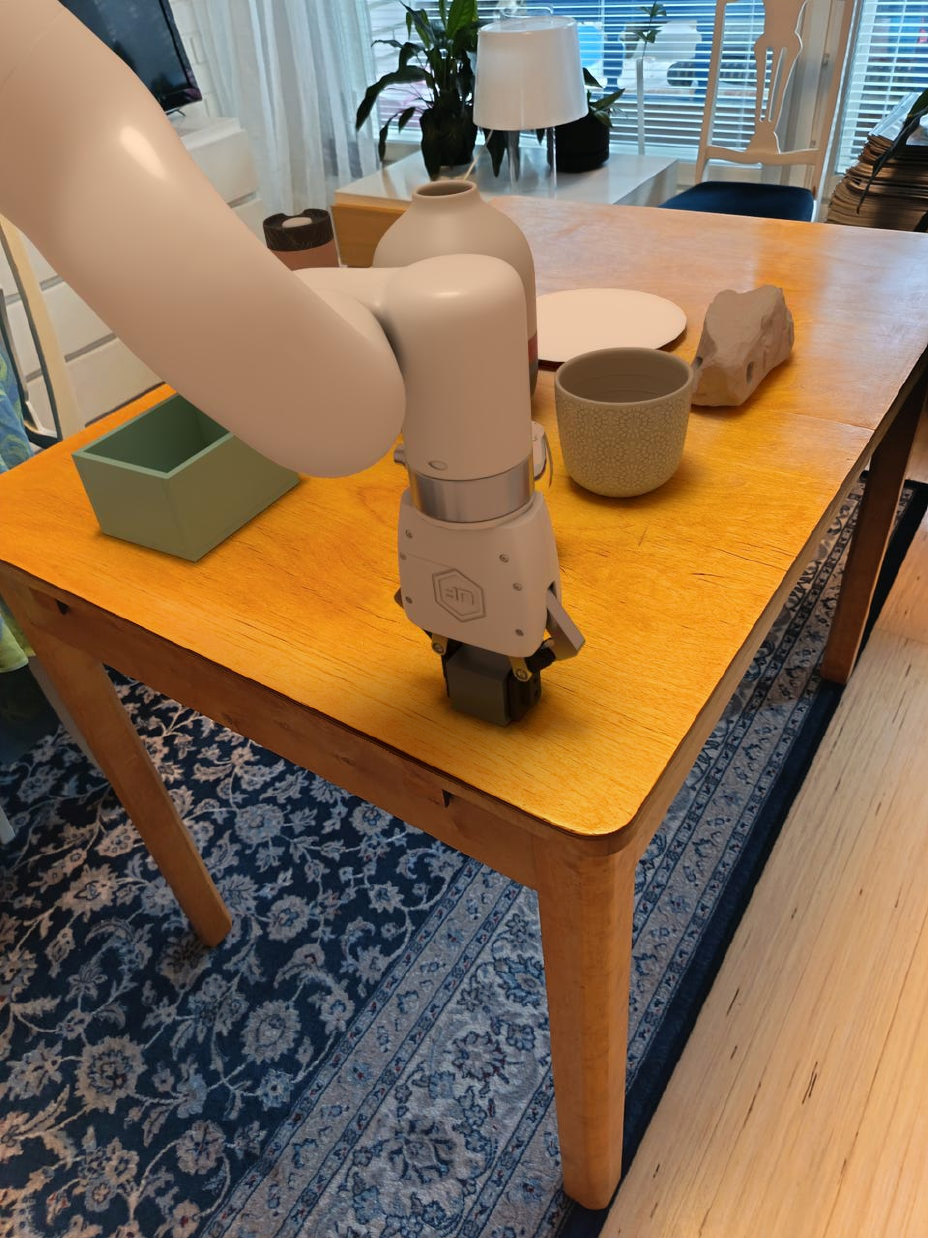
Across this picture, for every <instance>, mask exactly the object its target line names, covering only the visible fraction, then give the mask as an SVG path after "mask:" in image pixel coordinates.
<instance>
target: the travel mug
mask: <svg viewBox="0 0 928 1238" xmlns="http://www.w3.org/2000/svg"><path fill="white" fill-rule="evenodd" d="M331 217H332V216H331V214H330V212H329V211H328V210H326V209H323V208H315V207H314V208H313V207H310V208H305V209H304V210H303V211H302V212H301V213H299V214H296V215H287V214H286V213H284V212H277V213H275V214H272V215H270V216H267V217H266V218H264V219H263V220H262V229H263V234H264V239H265V244H266V247H267V248H268V249H269V250H270V251H271V252H272V253H273V254H274V255H275V256H276V257H277V258H278V259H279V260H280V261H281V262H282V263H283V264H284V265H285V266H287V267H288V268H289V269H290V270H291V271H295V270H299V269H307V268H341V266H340V262H339V256H338V249H337V246H336V239H335V235H334V229H333V224H332V223H333V222H332V218H331Z"/></svg>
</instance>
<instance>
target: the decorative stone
mask: <svg viewBox="0 0 928 1238" xmlns="http://www.w3.org/2000/svg"><path fill="white" fill-rule="evenodd" d="M783 292H784V289H783V287H777V286H776V285H775V284H764V285H762V286H760V287H757V288H755V289H753V290H747V291H746V292H740V293H739V292H737V291H736V290H733V289H729V288H727V289H724V290H721V291H719V292H718V293H717V294H716V295H715V296H714V298H713V300H712V302H710V303H709V305H708V307H707V309H706V312H705V315H704V320H703V324H702V330H701V334H700V338H699V342H698V345H697V349H696V353H695V355H694V357H693V360H692V361H691V363H690V364H689V365H690V366H691V367H692V369H693V372H694V381H693V392H692V401H691V405H692V404H693V405H696V406H710V407H720V406H721V407H722V406H728V407H739V406H741V405H743V404H744V403H745V402H746V401H747V400H748V398H750V396H751V395H752V394H753V393H754V392H755V391H756V390H757V388H758V387H759V385H760V383H761V382H762V381H763V380H764V379H765V378H766V376H767V375H768V374H769V372H770V371H772V370H773V369H774V368H775V367H778V366H779V365H781V364H782V363H783V362H784V361H785V360H786V359H787V358H788V357H789V356H790V354H791V353H792V350H793V348H794V347H793V346H794V344H795V323H794V319H793V316H792V315H793V314H792V312H791V311H790V309H789V308H788V306H787V303H786V297H785V295H784V293H783Z"/></svg>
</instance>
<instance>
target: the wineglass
mask: <svg viewBox="0 0 928 1238" xmlns="http://www.w3.org/2000/svg"><path fill="white" fill-rule="evenodd" d="M532 440H533V462H534V483H535V490H537V491H539V492H541V493H542V494H543V495H544V496H545V495H546V494H547V493H548V492H549V490H550V488H551V485H552V481H553V476H554V463H553V455H552V451H551V446H550V442H549V439H548V435H547V433H546V430H545V428H544V426H543V425H542V424H540V422H536V421H534V420H532Z"/></svg>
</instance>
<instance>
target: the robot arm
mask: <svg viewBox="0 0 928 1238" xmlns="http://www.w3.org/2000/svg"><path fill="white" fill-rule="evenodd" d="M0 215H2V216H3V217H4V218H5V219H6V220H7V221H9V222H10V223H11V224H12V225H13V226H14V227H16V228H17V229H18V230H19V231H20V232H21V233H22V234H23V235H24V236H25V237H26V238H27V239H28V240H29V241H30V243H31V244H32V245H33V246H34V247H35V248H36V249H37V250H38V252H39V254H41V255H40V256H42V257H43V258H44V260H45V262H47V264H48V265H49V266H50V267H51V268H52V269H53V271H54V272H55V273H56V274H57V275H58V276H59V278H60V279H62V281H63V282H64V283H66V284H67V286H68V287H70V288H71V289H72V290H73V292H74V293H75V294H76V295H77V296H78V297H79V298H80V299H82V301H83V302H84V303H85V304H86V305H87V306H88V307H89V308H90V310H92V312H93V313H95V315H96V316H97V317H98V318H99V319H100V320H101V322H103V323H104V324H105V325H106V326H107V328H109V330H110V331H111V332H112V333H113V334H114V335H115V336H116V337H117V338H118V339H119V340H120V341H121V342H122V343H123V344H124V346H126V347H127V349H129V351H131V353H132V354H133V355H135V356H136V357H137V359H139V360H140V361H141V362H142V363H143V364H144V365H145V366H146V367H147V368H148V369H149V370H150V371H151V372H152V373H154V374H155V375H156V376H157V377H158V378H159V379H160V380H161V381H163V382H164V383H165V384H166V385H168V386H169V388H171V389H173V390H174V392H175V393H177V392H178V393H179V394H180V395H181V396H183V397H184V398H185V399H186V400H188V401H189V402H190V403H192V404H193V405H194V406H196V407H197V408H198V409H200V410H201V411H202V412H204V413H205V414H207V415H208V416H209V417H210V418H212V419H213V420H215V421H216V422H217V423H219V424H220V425H221V426H223V427H224V428H225V429H227V430H228V431H230V432H231V433H232V434H234V435H235V436H236V437H238V438H239V439H240V440H242V441H243V442H245V443H246V444H247V445H249V446H250V447H252V448H253V449H254V450H256V451H257V452H259V453H260V454H262V455H263V456H265V457H267V458H268V459H270V460H272V461H274V462H275V463H277V464H279V465H281V466H283V467H285V468H288V469H290V470H292V471H295V472H297V473H298V474H300V475H304V476H308V477H314V478H317V479H341V478H347V477H351V476H354V475H357V474H360V473H362V472H364V471H366V470H368V469H370V468H371V467H374V466H376V464H377V463H378V462H380V461H381V460H382V459H383V458H384V457H386V456H387V454H388V453H389V452H390V450H391V449H392V448H393V447H394V445H395V444H396V442H397V440H398V438H399V435H400V434H401V435H402V440H403V443H399V444H397V445H396V446H395V449H394V451H393V457H392V458H393V459H392V460H393V462H394V464H395V465H397V466H401V467H403V468H404V469H405V470H407V477H408V482H409V486H408V487H407V488H405V490H404V491H403V492H402V494H401V496H400V502H399V510H398V511H399V512H398V523H397V562H398V563H397V564H398V576H399V586H400V587H399V588H398V589H397V591H396V592H395V593H394V595H393V600H394V602H395V603H396V604H397V605H398V606H399V607H400V608H402V610H404V613H405V616H406V618H407V620H408V621H409V622H411V623H412V624H413V625H414V626H415V627H418V628H420V629H421V631H422V632H424V633H425V634H426V636H428V638H429V639H430V640H431V642H430V643H431V644H430V646H431V649H432V651H433V652H434V653H435V654H437V655H439V656H440V661H441V667H442V674H443V678H444V682H445V688H446V695H447V698H448V699H451V697H450V690H449V683H448V676H447V668H446V663H447V662H448V661H449V659H450V658H451V657H452V656H453V655H454V654H455V652H456V651H457V650H458V649H459V648H460V647H461V645H462V644H463V643H467V644H470V645H474V646H477V647H480V648H484V649H487V650H490V651H494V652H497V653H501V654H504V655H507V656H508V659H509V662H510V665H511V668H512V671H513V672H512V673H511V674H510V676H509V677H508V679H507V688H508V700H509V712H510V717H511V721H512V720H513V721H515V722H520V721H521V720H522V718H523V717H524V716H525V714H526V713H527V712H528V710H529V709H530V708H532V709H534V708H535V707H536V706H537V704H538V703H539V701H540V699H541V695H542V679H541V671H543V670H544V669H547V668H549V667H550V666H552V664H554V663H556V662H562V661H566V660H569V659H572V658H575V657H577V656H578V655H579V653H580V652H581V651H582V649H583V648H584V647H585V645H586V642H587V641H586V639H585V638H586V637H584V634H582V632H581V630H580V629H579V628H578V627H577V625H576V624H575V623H574V621H573V620H572V617H570V615H569V614H568V613H567V611H566V609H565V608H564V607H563V595H562V580H561V569H560V562H559V556H558V555H559V554H558V547H557V542H556V537H555V531H554V527H553V524H552V519H551V515H550V511H549V508H548V505H547V502H546V499H545V495H543V494H542V493H541V492H539V491H537V490H535V483H534V462H533V440H532V421H533V420H532V403H531V402H532V400H531V401H530V381H529V359H528V337H527V316H526V300H525V291H524V286H523V283H522V280H521V278H520V276H519V274H518V273H517V272H516V270H515V269H514V268H513V267H512V266H511V265H509V264H508V263H506V262H505V261H503V260H501V259H498V258H496V257H491V256H486V255H479V254H451V255H443V256H437V257H433V258H429V259H425V260H422V261H419V262H416V263H413V264H411V265H409V266H407V267H395V268H372V267H340V268H307V269H299V270H295V271H291V270H290V269H289V268H288V267H287V266H285V265H284V264H283V263H282V262H281V261H280V260H279V259H278V258H277V257H276V256H275V255H274V254H273V253H272V252H271V251H270V250H269V249H268V248H267V245H265V243H263V242H262V240H260V239H259V237H258V236H257V235H256V234H255V233H254V232H253V231H252V230H251V229H250V227H248V226H247V224H245V223H244V221H243V220H242V219H241V218H240V217H239V216H238V215H237V213H235V211H234V210H233V209H232V208H231V206H230V205H229V204H227V202H226V200H224V198H222V195H220V194H219V192H218V191H217V190H216V189H215V187H214V186H213V185H212V184H211V183H210V181H209V180H208V178H207V177H206V175H205V174H204V173H203V171H202V170H201V169H200V167H199V166H198V164H197V163H196V161H195V160H194V158H193V157H192V155H191V154H190V152H189V151H188V149H187V147H186V146H185V144H184V142H183V141H182V139H181V137H180V136H179V134H178V132H177V131H176V129H175V127H174V125H173V123H172V121H171V120H170V119H169V116H167V113H166V112H165V111H164V109H163V107H162V106H161V104H160V103H159V102H158V100H157V99H156V98H155V96H154V95H153V94H152V92H151V91H150V89H148V87H147V86H146V85H145V83H144V82H143V81H142V80H141V79H140V77H139V76H138V75H137V74H136V73H135V72H134V71H133V69H132V68H131V67H130V66H129V65H128V64H127V63H126V62H125V61H124V60H123V59H122V58H121V57H120V56H119V55H118V54H116V52H114V51H113V50H112V49H111V48H110V47H109V46H108V45H107V44H105V43H104V42H103V40H101V39H100V38H99V37H98V35H96V34H95V33H94V32H93V31H91V29H89V27H87V26H86V25H85V24H84V23H83V22H82V21H81V20H80V19H79V18H78V17H77V16H76V15H75V14H74V13H72V12H71V10H69V9H68V8H67V7H65V6H64V5H63V4H62V3H61V2H60V1H59V0H0ZM546 631H547V633H548V635H549V636H550V637H548V638H546V639H544V636H545V632H546Z"/></svg>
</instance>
